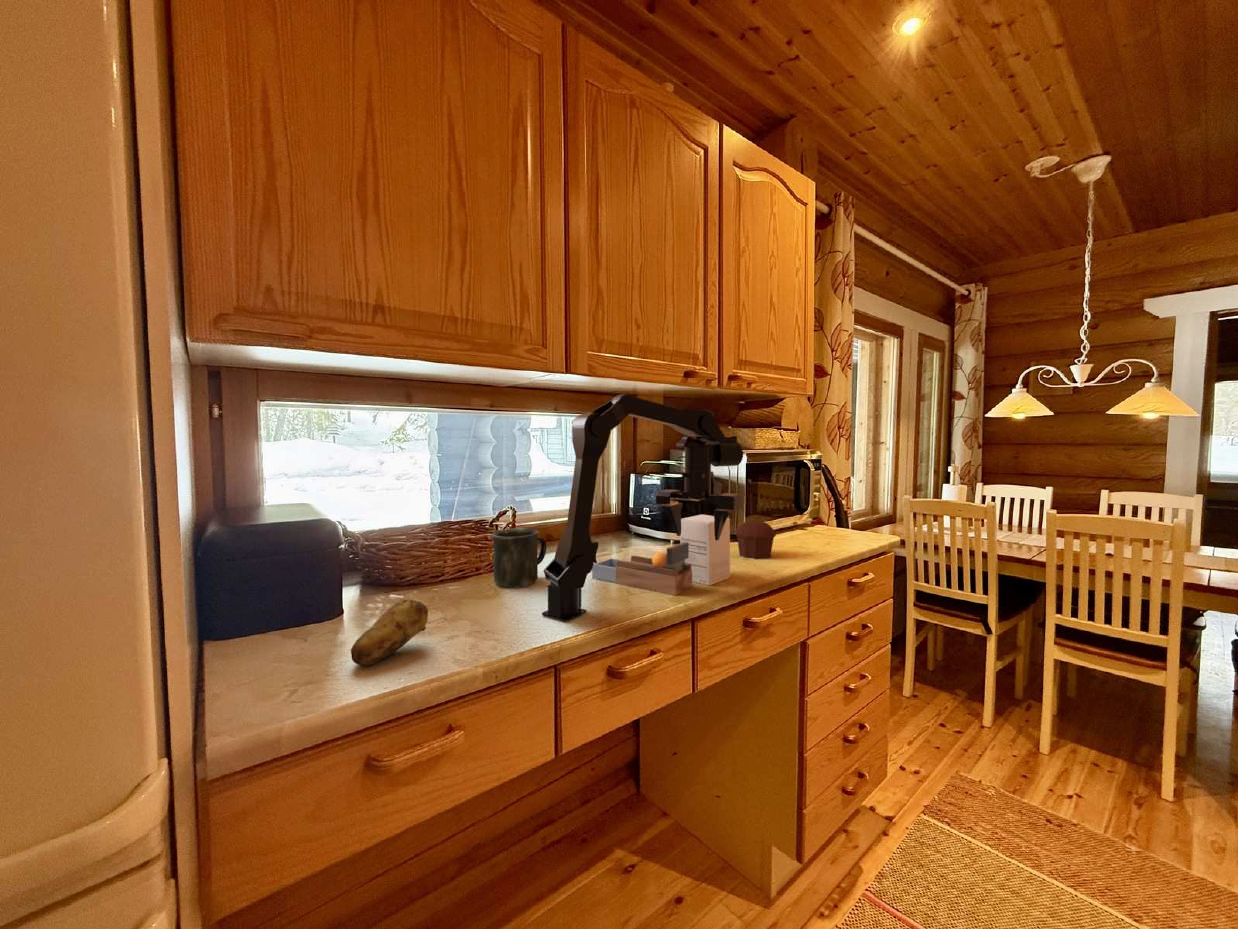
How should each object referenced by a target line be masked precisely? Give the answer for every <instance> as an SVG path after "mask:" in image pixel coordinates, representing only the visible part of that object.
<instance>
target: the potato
mask: <svg viewBox="0 0 1238 929" xmlns="http://www.w3.org/2000/svg"><path fill="white" fill-rule="evenodd" d="M428 617H429V611H428V608H427V606H426V605H425V604H424V603H422V602H421V601H419V600H415V599H403V600H400V601H397V602H395V603H394V604H392V606H390V607H389V608H388V609H387V610H386V611H385V612H384V611H383V613H382V615H380V616H379V618H378V619H377V620H376V621H375V622H374V623H373V625H371V627H370V628H369V629H366V630H365V632H363V633H362V634H361V635H360V636H359V637H358V638H357V639H356V640H355V642H354V643H353V644H352V646H351V649H350V655H351V660H352V662H353V663H354V664H356V665H358V666H362V667H365V666H371V665H373V664H375V663H377V662H379V661H380V660H382V659H384V658H386V657H388V656H391V655H393V654H394V653H396V652H397V651H398V650H400V649H401V648H403V647H404V646H405V645H406V644H407V643H408V642H409V641H410V640H411V639H412V638H414V637H415V636H416V635H418V634H419V633H421V632H424V631H425V630H426V628H427V627H426V625H427V623H428V619H429V618H428Z"/></svg>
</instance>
